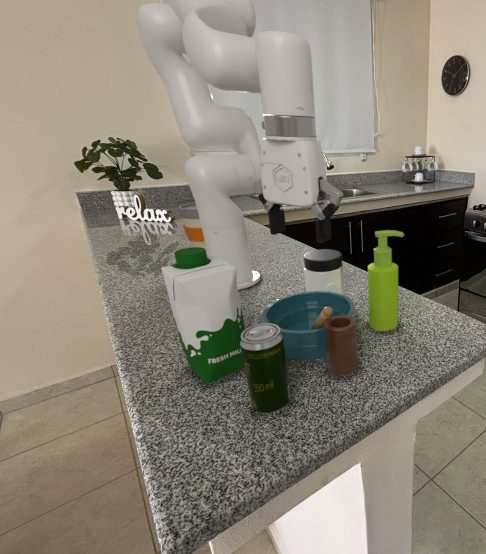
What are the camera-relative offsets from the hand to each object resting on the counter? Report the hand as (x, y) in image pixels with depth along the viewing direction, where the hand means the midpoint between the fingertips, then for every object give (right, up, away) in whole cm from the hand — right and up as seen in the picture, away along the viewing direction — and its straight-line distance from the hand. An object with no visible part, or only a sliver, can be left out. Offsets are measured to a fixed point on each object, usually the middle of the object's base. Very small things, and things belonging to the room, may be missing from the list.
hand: (300, 236), depth 60 cm
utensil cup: (+8, -22, -2) cm, 24 cm away
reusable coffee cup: (-46, +1, +53) cm, 71 cm away
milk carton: (-13, -22, -2) cm, 26 cm away
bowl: (0, -19, +7) cm, 20 cm away
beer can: (-1, -26, -9) cm, 27 cm away
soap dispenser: (+14, -17, +12) cm, 25 cm away
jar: (-1, -13, +21) cm, 25 cm away
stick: (0, -18, +7) cm, 19 cm away
